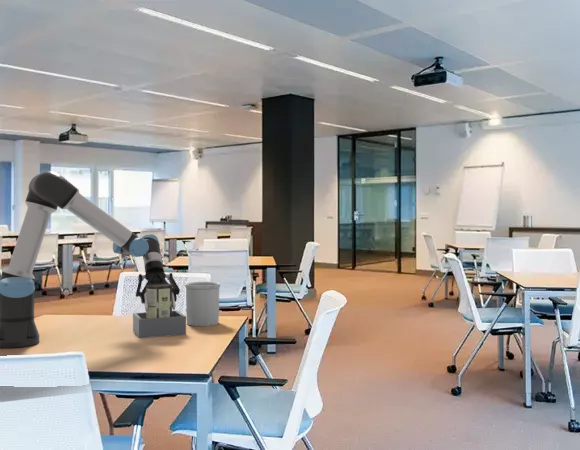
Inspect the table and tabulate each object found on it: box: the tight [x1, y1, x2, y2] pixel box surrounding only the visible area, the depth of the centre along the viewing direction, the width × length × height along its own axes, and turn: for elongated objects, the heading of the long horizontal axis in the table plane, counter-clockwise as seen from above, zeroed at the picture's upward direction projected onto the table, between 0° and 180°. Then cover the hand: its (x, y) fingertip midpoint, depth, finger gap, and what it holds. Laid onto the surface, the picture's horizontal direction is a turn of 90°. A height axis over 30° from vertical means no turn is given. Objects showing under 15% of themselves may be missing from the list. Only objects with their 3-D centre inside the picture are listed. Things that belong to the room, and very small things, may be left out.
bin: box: [132, 310, 187, 339], centre depth 220 cm, size 18×16×7 cm
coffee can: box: [145, 282, 173, 319], centre depth 220 cm, size 10×10×14 cm
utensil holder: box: [185, 280, 221, 327], centre depth 240 cm, size 15×15×18 cm
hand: (160, 308), depth 218 cm, fingers closed on coffee can, 10 cm apart
